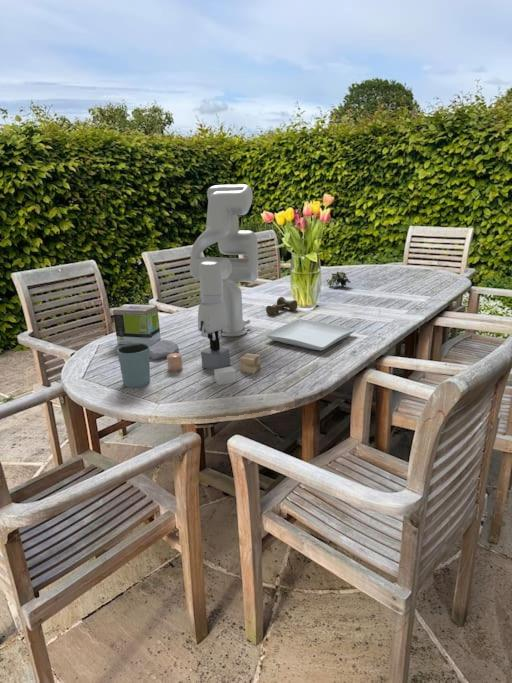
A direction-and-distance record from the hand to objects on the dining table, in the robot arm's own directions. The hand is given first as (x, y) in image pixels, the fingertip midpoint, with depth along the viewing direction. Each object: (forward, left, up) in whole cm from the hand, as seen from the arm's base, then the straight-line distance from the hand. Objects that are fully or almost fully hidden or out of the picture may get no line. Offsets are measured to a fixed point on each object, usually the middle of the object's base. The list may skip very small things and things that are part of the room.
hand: (215, 349), depth 161 cm
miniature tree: (-129, -32, -6) cm, 133 cm away
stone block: (+5, -25, -7) cm, 26 cm away
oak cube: (-5, +12, -6) cm, 14 cm away
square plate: (-44, +9, -7) cm, 45 cm away
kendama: (-69, -26, -7) cm, 75 cm away
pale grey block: (+7, +12, -6) cm, 15 cm away
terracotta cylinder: (+11, -9, -6) cm, 15 cm away
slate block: (0, 0, -6) cm, 6 cm away
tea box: (+2, -44, -6) cm, 45 cm away
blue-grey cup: (+26, -10, -6) cm, 29 cm away
